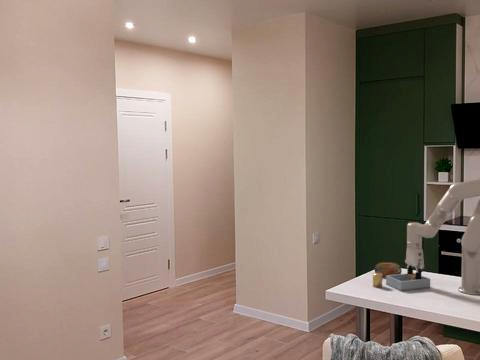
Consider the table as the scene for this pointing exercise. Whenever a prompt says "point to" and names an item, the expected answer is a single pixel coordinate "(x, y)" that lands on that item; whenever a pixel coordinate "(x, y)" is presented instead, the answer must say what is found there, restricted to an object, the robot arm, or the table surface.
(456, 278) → the table surface
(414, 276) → the walnut cube
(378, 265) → the tin
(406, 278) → the tote
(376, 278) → the brass cylinder
